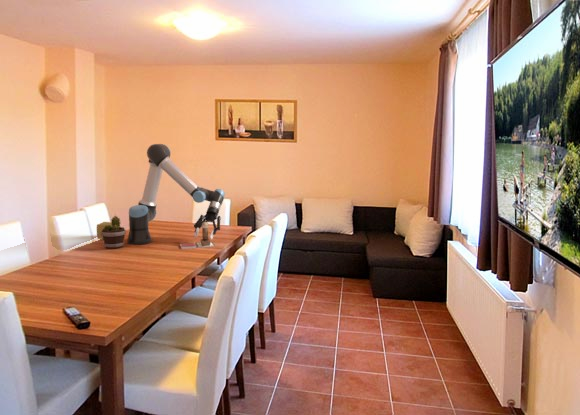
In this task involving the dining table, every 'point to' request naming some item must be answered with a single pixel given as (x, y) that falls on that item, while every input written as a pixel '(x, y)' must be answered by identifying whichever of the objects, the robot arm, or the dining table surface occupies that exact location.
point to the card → (205, 246)
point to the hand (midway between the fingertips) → (202, 237)
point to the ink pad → (187, 245)
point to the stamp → (205, 234)
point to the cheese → (101, 226)
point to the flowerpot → (113, 234)
